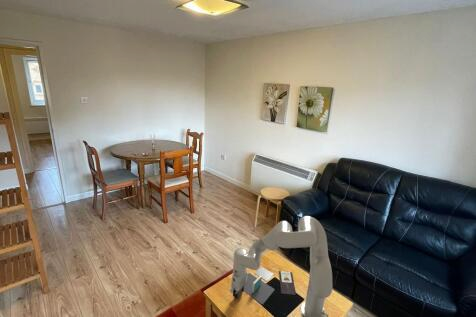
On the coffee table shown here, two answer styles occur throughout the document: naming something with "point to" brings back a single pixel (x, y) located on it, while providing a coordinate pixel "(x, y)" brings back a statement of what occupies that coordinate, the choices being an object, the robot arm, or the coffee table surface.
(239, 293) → the flat brown wooden slab
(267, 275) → the pad
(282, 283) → the chocolate bar
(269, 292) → the mat
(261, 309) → the coffee table surface
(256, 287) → the tile
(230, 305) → the coffee table surface
